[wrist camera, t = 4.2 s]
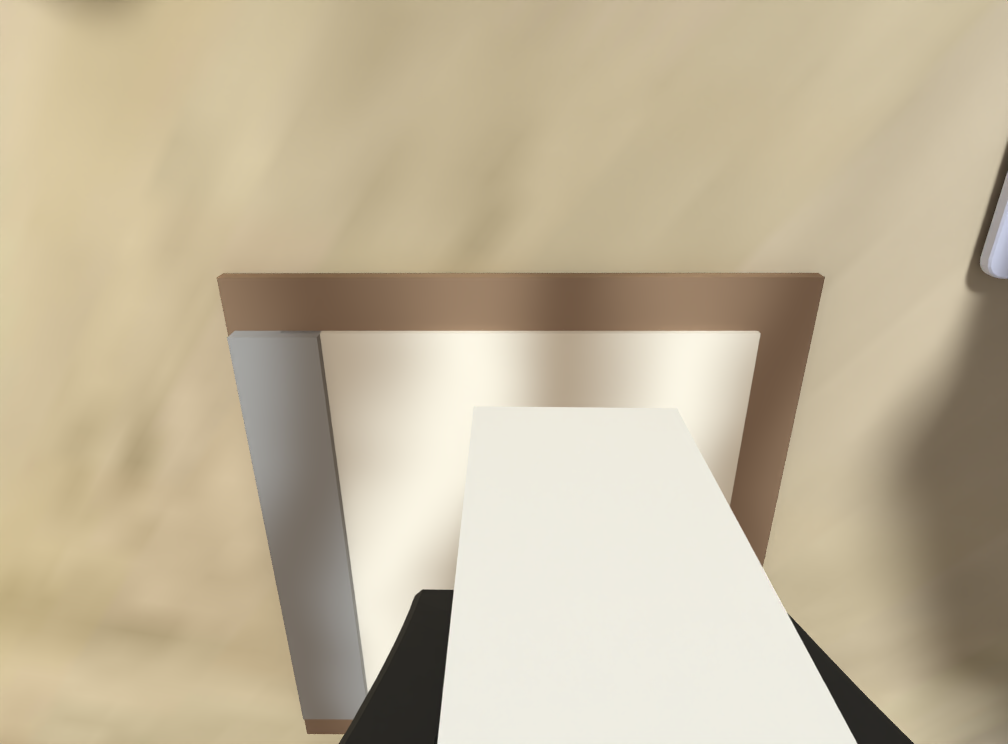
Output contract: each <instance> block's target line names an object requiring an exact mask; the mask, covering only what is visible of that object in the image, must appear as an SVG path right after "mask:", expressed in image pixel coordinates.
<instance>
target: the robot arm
mask: <svg viewBox="0 0 1008 744" xmlns="http://www.w3.org/2000/svg"><path fill="white" fill-rule="evenodd" d="M980 266H981V269H982V271H984V272H985V273H986V274H988V275H990V276H993V277H995V278H1000V279H1008V172H1007V175H1006V178H1005V181H1004V184H1003V188H1002V191H1001V194H1000V197H999V200H998V203H997V207H996V210H995V213H994V216H993V219H992V222H991V226H990V229H989V232H988V235H987V238H986V241H985V245H984V248H983V251H982V254H981V258H980ZM453 594H454V590H435V589H422V590H421V591H420V592H418V593H417V594H416V595H415V596H414V599H413V601H412V604H411V607H410V609H409V612H408V614H407V616H406V619H405V621H404V623H403V626H402V628H401V630H400V632H399V634H398V636H397V639H396V641H395V643H394V645H393V647H392V649H391V651H390V653H389V655H388V657H387V659H386V661H385V662H384V664H383V666H382V668H381V670H380V672H379V674H378V676H377V678H376V680H375V681H374V683H373V685H372V687H371V689H370V690H369V692H368V694H367V696H366V697H365V699H364V701H363V703H362V705H361V706H360V708H359V710H358V712H357V713H356V715H355V717H354V719H353V721H352V722H351V724H350V726H349V728H348V729H347V731H346V733H345V734H344V736H343V738H342V739H341V741H340V743H339V744H437V742H438V733H439V723H440V714H441V705H442V696H443V686H444V677H445V668H446V659H447V649H448V640H449V631H450V622H451V612H452V603H453ZM787 614H788V613H787ZM788 616H789V618H790V620H791V621H792V623H793V625H794V627H795V629H796V631H797V633H798V634H799V636H800V638H801V640H802V642H803V644H804V646H805V647H806V649H807V651H808V653H809V655H810V657H811V659H812V660H813V662H814V664H815V666H816V668H817V670H818V672H819V673H820V675H821V677H822V679H823V681H824V683H825V685H826V686H827V688H828V690H829V692H830V694H831V696H832V698H833V699H834V701H835V703H836V705H837V707H838V709H839V711H840V712H841V714H842V716H843V718H844V720H845V722H846V724H847V725H848V727H849V729H850V731H851V733H852V735H853V737H854V739H855V740H856V742H857V744H914V743H913V742H912V741H911V740H910V739H909V738H908V737H907V736H906V735H905V734H904V733H903V732H902V731H901V730H900V729H899V728H898V727H897V726H896V725H895V724H894V723H893V722H892V721H891V720H890V719H889V718H888V717H887V716H886V715H885V714H884V713H883V712H882V711H881V710H880V709H879V708H878V707H877V706H876V705H875V704H874V703H873V702H872V701H871V700H870V699H869V698H868V697H867V696H866V695H865V694H864V693H863V692H862V691H861V690H860V689H859V688H858V687H857V686H856V685H855V684H854V683H853V682H852V681H851V680H850V679H849V677H848V676H847V675H846V674H845V673H844V672H843V671H842V670H841V669H840V668H839V667H838V666H837V665H836V664H835V663H834V662H833V661H832V660H831V659H830V658H829V657H828V655H827V654H826V653H825V652H824V651H823V650H822V649H821V648H820V647H819V646H818V645H817V644H816V643H815V642H814V641H813V640H812V639H811V637H810V636H809V635H808V634H807V633H806V632H805V631H804V630H803V629H802V628H801V627H800V626H799V625H798V624H797V623H796V622H795V621H794V619H793V618H792V617H791V616H790V615H789V614H788Z"/></svg>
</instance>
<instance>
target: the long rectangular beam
mask: <svg viewBox="0 0 1008 744" xmlns="http://www.w3.org/2000/svg"><path fill="white" fill-rule="evenodd" d="M437 744H857V742H856V740H855V739H854V737H853V735H852V733H851V731H850V729H849V727H848V725H847V724H846V722H845V720H844V718H843V716H842V714H841V712H840V711H839V709H838V707H837V705H836V703H835V701H834V699H833V698H832V696H831V694H830V692H829V690H828V688H827V686H826V685H825V683H824V681H823V679H822V677H821V675H820V673H819V672H818V670H817V668H816V666H815V664H814V662H813V660H812V659H811V657H810V655H809V653H808V651H807V649H806V647H805V646H804V644H803V642H802V640H801V638H800V636H799V634H798V633H797V631H796V629H795V627H794V625H793V623H792V621H791V620H790V618H789V616H788V614H787V612H786V610H785V608H784V607H783V605H782V603H781V601H780V599H779V597H778V595H777V594H776V592H775V590H774V588H773V586H772V584H771V582H770V581H769V579H768V577H767V575H766V573H765V571H764V569H763V568H762V566H761V564H760V562H759V560H758V558H757V556H756V555H755V553H754V551H753V549H752V547H751V545H750V543H749V541H748V540H747V538H746V536H745V534H744V532H743V530H742V528H741V527H740V525H739V523H738V521H737V519H736V517H735V515H734V514H733V512H732V510H731V508H730V506H729V504H728V502H727V501H726V499H725V497H724V495H723V493H722V491H721V489H720V488H719V486H718V484H717V482H716V480H715V478H714V476H713V475H712V473H711V471H710V469H709V467H708V465H707V463H706V462H705V460H704V458H703V456H702V454H701V452H700V450H699V449H698V447H697V445H696V443H695V441H694V439H693V437H692V436H691V434H690V432H689V430H688V428H687V426H686V424H685V423H684V421H683V419H682V417H681V415H680V413H679V411H678V410H677V408H602V407H493V406H474V408H473V418H472V427H471V436H470V445H469V455H468V464H467V473H466V483H465V492H464V501H463V510H462V520H461V529H460V538H459V547H458V557H457V566H456V575H455V584H454V594H453V603H452V612H451V622H450V631H449V640H448V649H447V659H446V668H445V677H444V686H443V696H442V705H441V714H440V723H439V733H438V742H437Z"/></svg>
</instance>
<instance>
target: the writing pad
mask: <svg viewBox="0 0 1008 744" xmlns="http://www.w3.org/2000/svg"><path fill="white" fill-rule="evenodd" d="M824 279H825V277H823V276H822V275H820V274H819V273H283V274H222V275H220V276H219V277H217V281H218V286H219V291H220V296H221V301H222V306H223V311H224V316H225V321H226V327H227V332H228V337H227V339H228V344H229V349H230V354H231V359H232V364H233V369H234V374H235V379H236V384H237V389H238V394H239V399H240V404H241V409H242V414H243V419H244V424H245V429H246V434H247V439H248V444H249V449H250V454H251V459H252V464H253V469H254V474H255V479H256V484H257V489H258V494H259V499H260V504H261V509H262V514H263V519H264V524H265V529H266V534H267V539H268V544H269V550H270V555H271V560H272V565H273V570H274V575H275V580H276V585H277V590H278V595H279V600H280V605H281V610H282V615H283V620H284V625H285V630H286V635H287V640H288V645H289V650H290V655H291V660H292V665H293V670H294V675H295V680H296V685H297V690H298V695H299V700H300V705H301V710H302V715H303V719H304V720H305V725H306V730H307V734H345V733H346V731H347V729H348V728H349V726H350V724H351V722H352V721H353V719H354V717H355V715H356V713H357V712H358V710H359V708H360V706H361V705H362V703H363V701H364V699H365V697H366V696H367V694H368V692H369V690H370V689H371V687H372V685H373V683H374V681H375V680H376V678H377V676H378V674H379V672H380V670H381V668H382V666H383V664H384V662H385V661H386V659H387V657H388V655H389V653H390V651H391V649H392V647H393V645H394V643H395V641H396V639H397V636H398V634H399V632H400V630H401V628H402V626H403V623H404V621H405V619H406V616H407V614H408V612H409V609H410V607H411V604H412V601H413V599H414V596H415V595H416V594H417V593H418V592H420V591H421V590H422V589H435V590H454V584H455V575H456V566H457V557H458V547H459V538H460V529H461V520H462V510H463V501H464V492H465V483H466V473H467V464H468V455H469V445H470V436H471V427H472V418H473V408H474V406H493V407H602V408H677V410H678V411H679V413H680V415H681V417H682V419H683V421H684V423H685V424H686V426H687V428H688V430H689V432H690V434H691V436H692V437H693V439H694V441H695V443H696V445H697V447H698V449H699V450H700V452H701V454H702V456H703V458H704V460H705V462H706V463H707V465H708V467H709V469H710V471H711V473H712V475H713V476H714V478H715V480H716V482H717V484H718V486H719V488H720V489H721V491H722V493H723V495H724V497H725V499H726V501H727V502H728V504H729V506H730V508H731V510H732V512H733V514H734V515H735V517H736V519H737V521H738V523H739V525H740V527H741V528H742V530H743V532H744V534H745V536H746V538H747V540H748V541H749V543H750V545H751V547H752V549H753V551H754V553H755V555H756V556H757V558H758V560H759V562H760V564H761V566H762V568H763V563H764V559H765V554H766V549H767V545H768V540H769V535H770V531H771V526H772V521H773V517H774V512H775V507H776V503H777V498H778V493H779V489H780V484H781V479H782V475H783V470H784V465H785V461H786V456H787V451H788V447H789V442H790V437H791V433H792V428H793V423H794V419H795V414H796V409H797V405H798V400H799V395H800V391H801V386H802V381H803V377H804V372H805V367H806V363H807V358H808V353H809V349H810V344H811V339H812V335H813V330H814V325H815V321H816V316H817V311H818V307H819V302H820V297H821V293H822V288H823V283H824Z"/></svg>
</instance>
